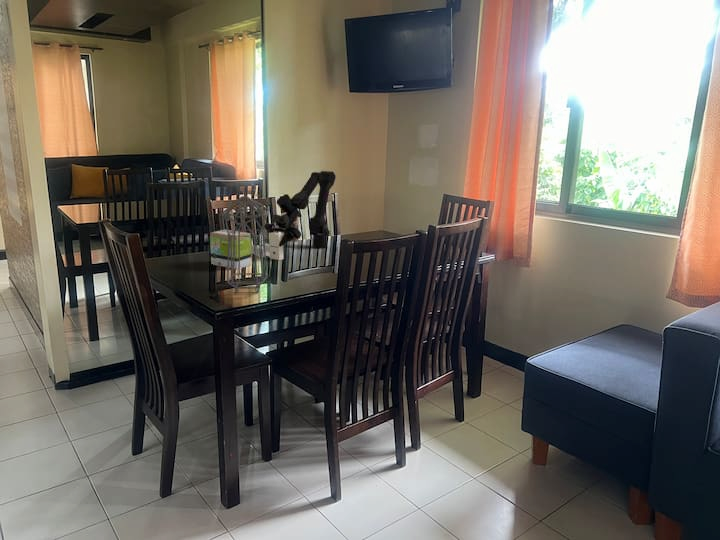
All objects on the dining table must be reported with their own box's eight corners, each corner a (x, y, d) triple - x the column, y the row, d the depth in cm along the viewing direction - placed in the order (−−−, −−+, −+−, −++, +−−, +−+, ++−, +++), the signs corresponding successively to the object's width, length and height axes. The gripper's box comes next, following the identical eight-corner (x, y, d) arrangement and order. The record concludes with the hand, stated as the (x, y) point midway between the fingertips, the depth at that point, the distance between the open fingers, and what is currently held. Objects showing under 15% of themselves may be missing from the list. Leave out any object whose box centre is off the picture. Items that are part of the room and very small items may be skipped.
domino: (269, 258, 246) (268, 233, 243) (273, 257, 248) (273, 232, 245) (279, 260, 243) (278, 234, 240) (283, 258, 245) (283, 233, 242)
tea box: (210, 265, 230) (208, 232, 227) (226, 260, 239) (224, 228, 235) (237, 270, 224) (235, 235, 220) (252, 265, 232) (251, 232, 229)
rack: (249, 252, 257) (249, 245, 257) (266, 250, 263) (266, 243, 262) (260, 257, 247) (260, 250, 246) (278, 255, 252) (278, 248, 251)
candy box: (282, 242, 283) (282, 214, 279) (281, 240, 287) (280, 212, 283) (298, 241, 286) (298, 213, 282) (297, 240, 290) (296, 212, 286)
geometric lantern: (271, 285, 202) (270, 194, 194) (265, 297, 187) (263, 199, 178) (230, 284, 202) (226, 193, 193) (221, 297, 187) (217, 198, 178)
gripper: (266, 206, 248) (250, 232, 241) (297, 209, 238) (281, 237, 232) (277, 220, 256) (262, 246, 250) (308, 224, 247) (292, 251, 240)
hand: (274, 245), depth 243 cm, fingers closed on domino, 6 cm apart
